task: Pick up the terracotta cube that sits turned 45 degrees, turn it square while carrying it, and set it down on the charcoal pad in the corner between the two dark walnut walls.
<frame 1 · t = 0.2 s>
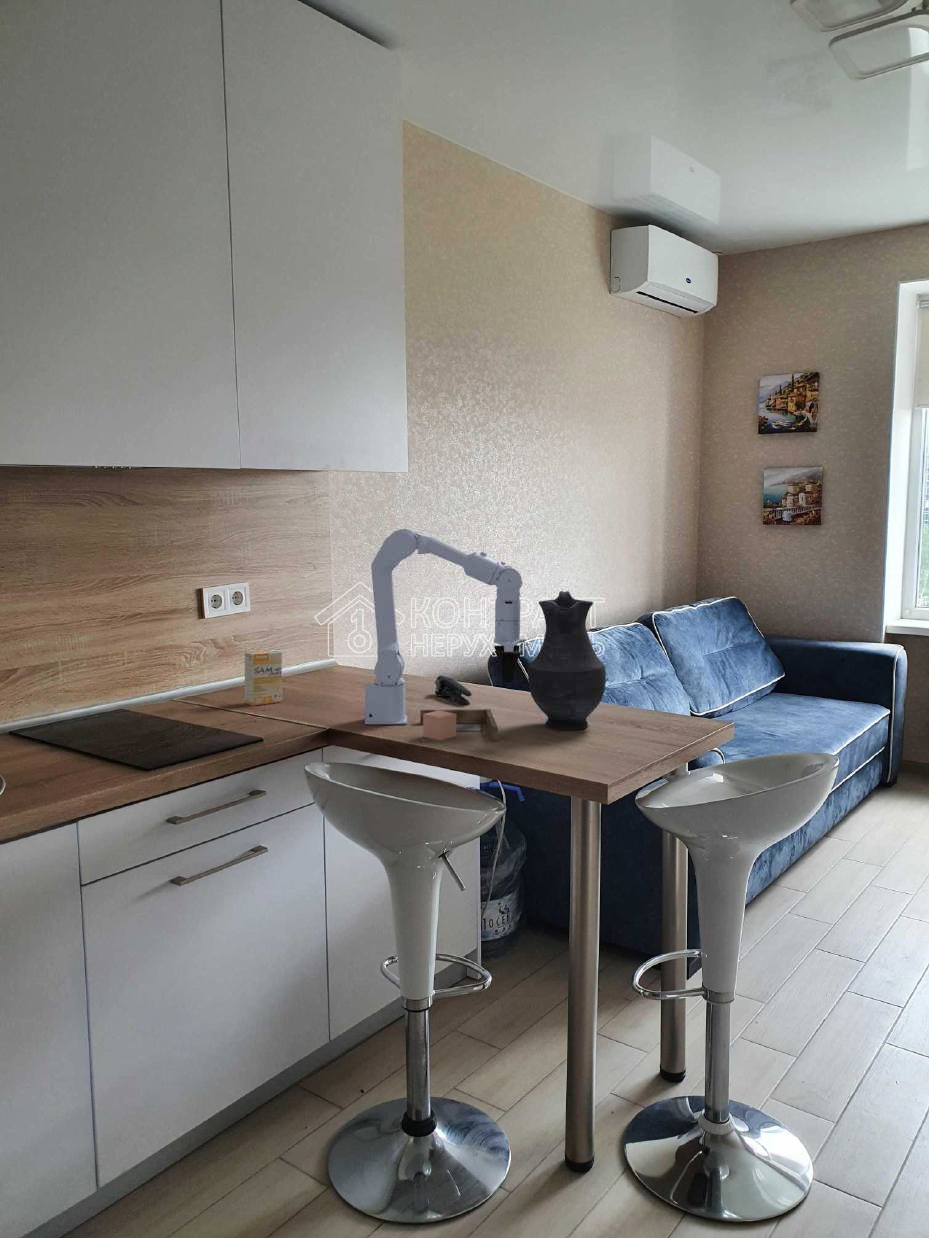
hand: (506, 678, 212), 10 cm above the worktop, tool pointing down, fingers open, 7 cm apart
supplement box: (263, 703, 233), on the worktop
arena: (457, 731, 203), on the worktop
can opener: (454, 700, 239), on the worktop
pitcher: (565, 725, 211), on the worktop
cube: (439, 736, 198), on the worktop
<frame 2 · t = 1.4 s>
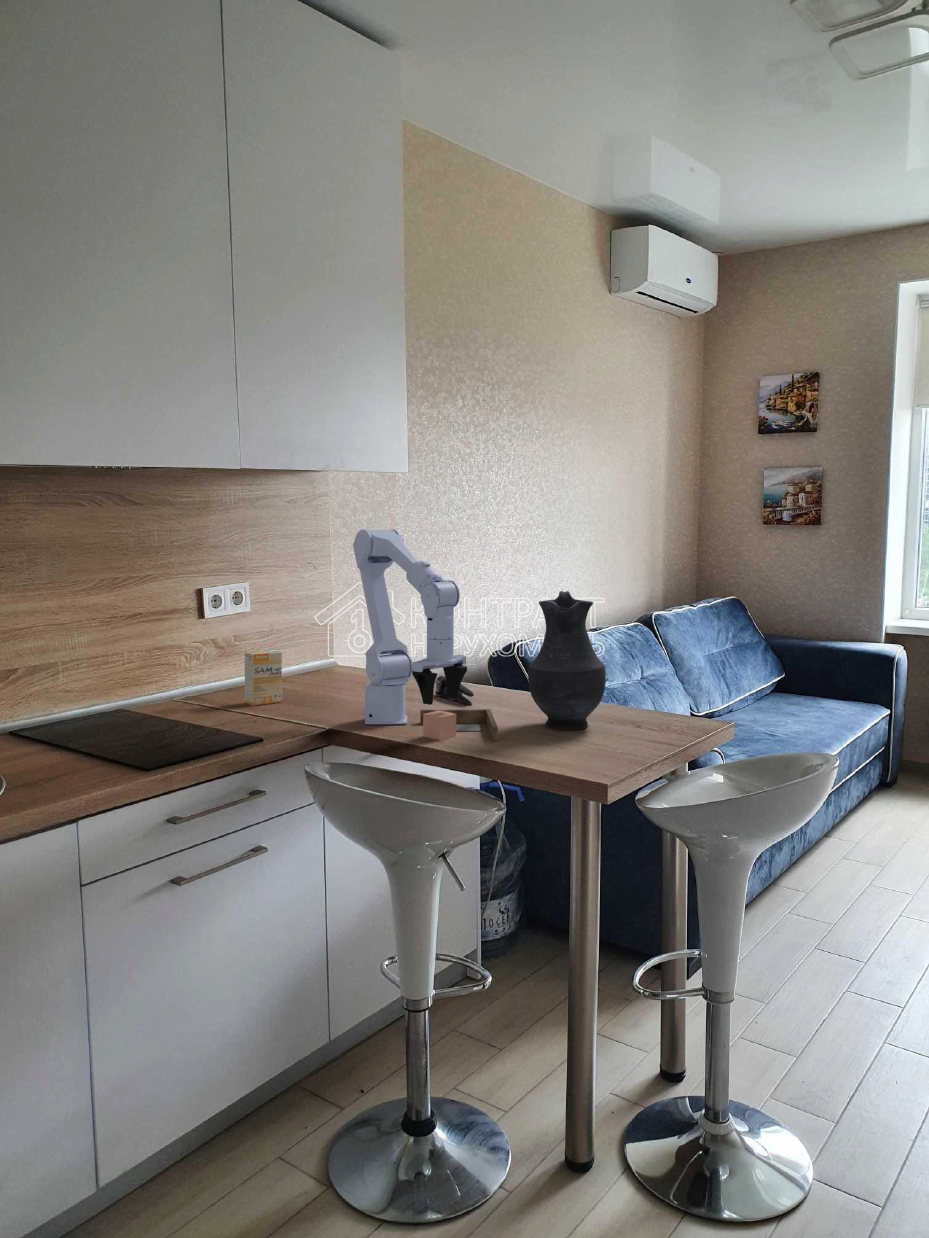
hand: (440, 701, 198), 8 cm above the worktop, tool pointing down, fingers open, 7 cm apart
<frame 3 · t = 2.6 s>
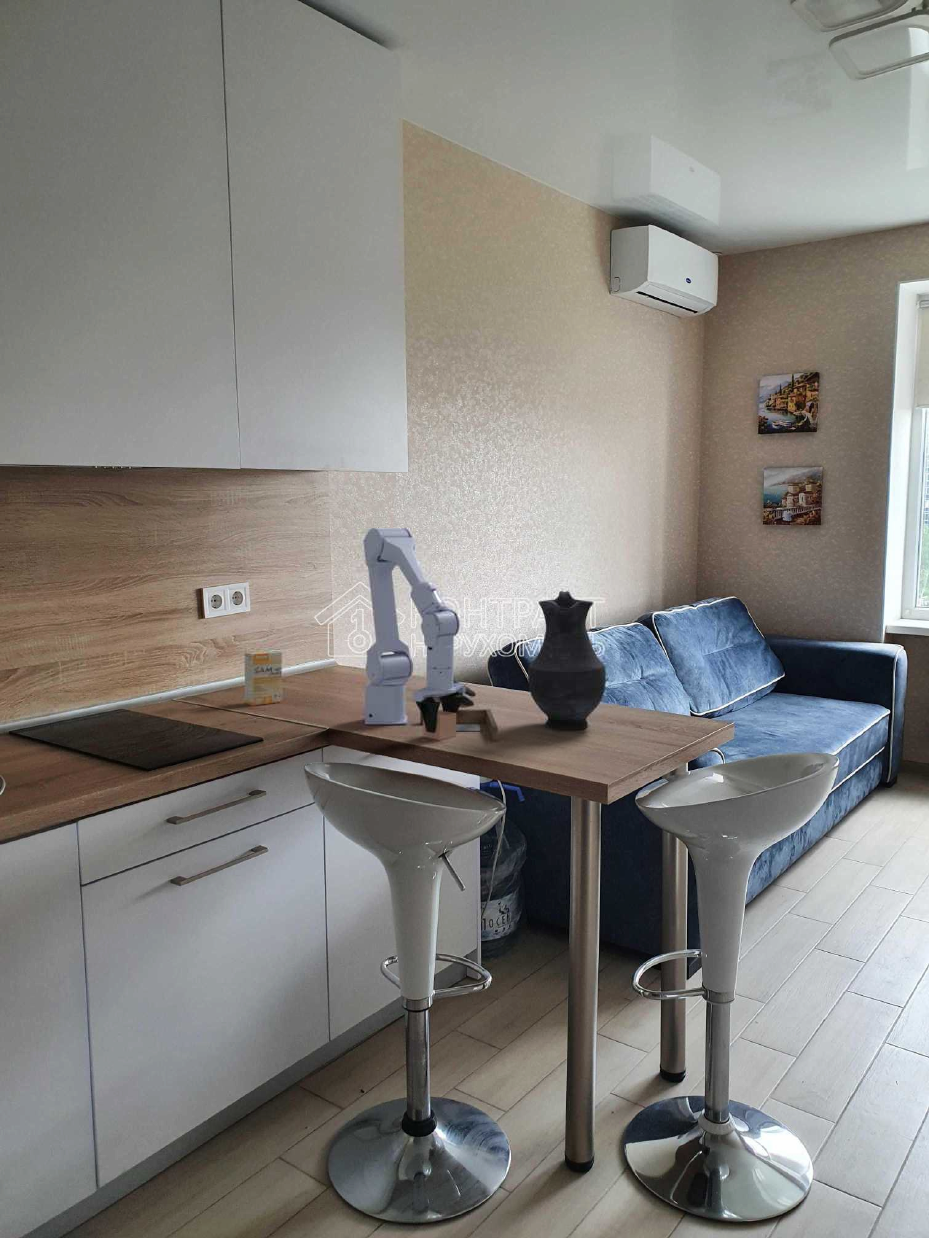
hand: (439, 729, 198), 1 cm above the worktop, tool pointing down, fingers closed on cube, 5 cm apart
cube: (439, 736, 198), on the worktop, touching gripper
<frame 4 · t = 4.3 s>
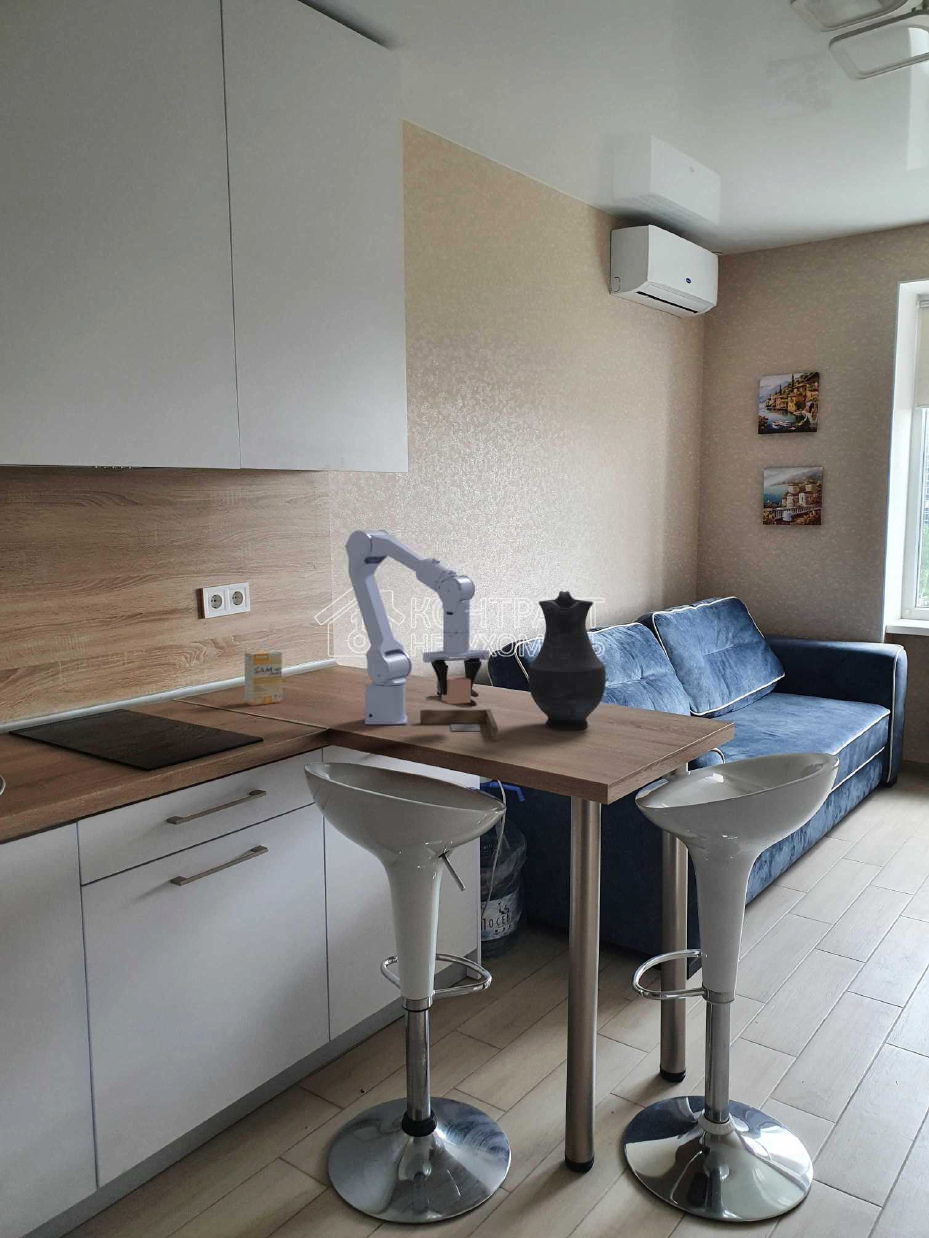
hand: (456, 693, 202), 8 cm above the worktop, tool pointing down, fingers closed on cube, 5 cm apart
cube: (456, 700, 202), point 7 cm above the worktop, touching gripper
when the fingers open (3 cm above the worktop, at t = 6.1 s): cube drops 1 cm, resting on arena.
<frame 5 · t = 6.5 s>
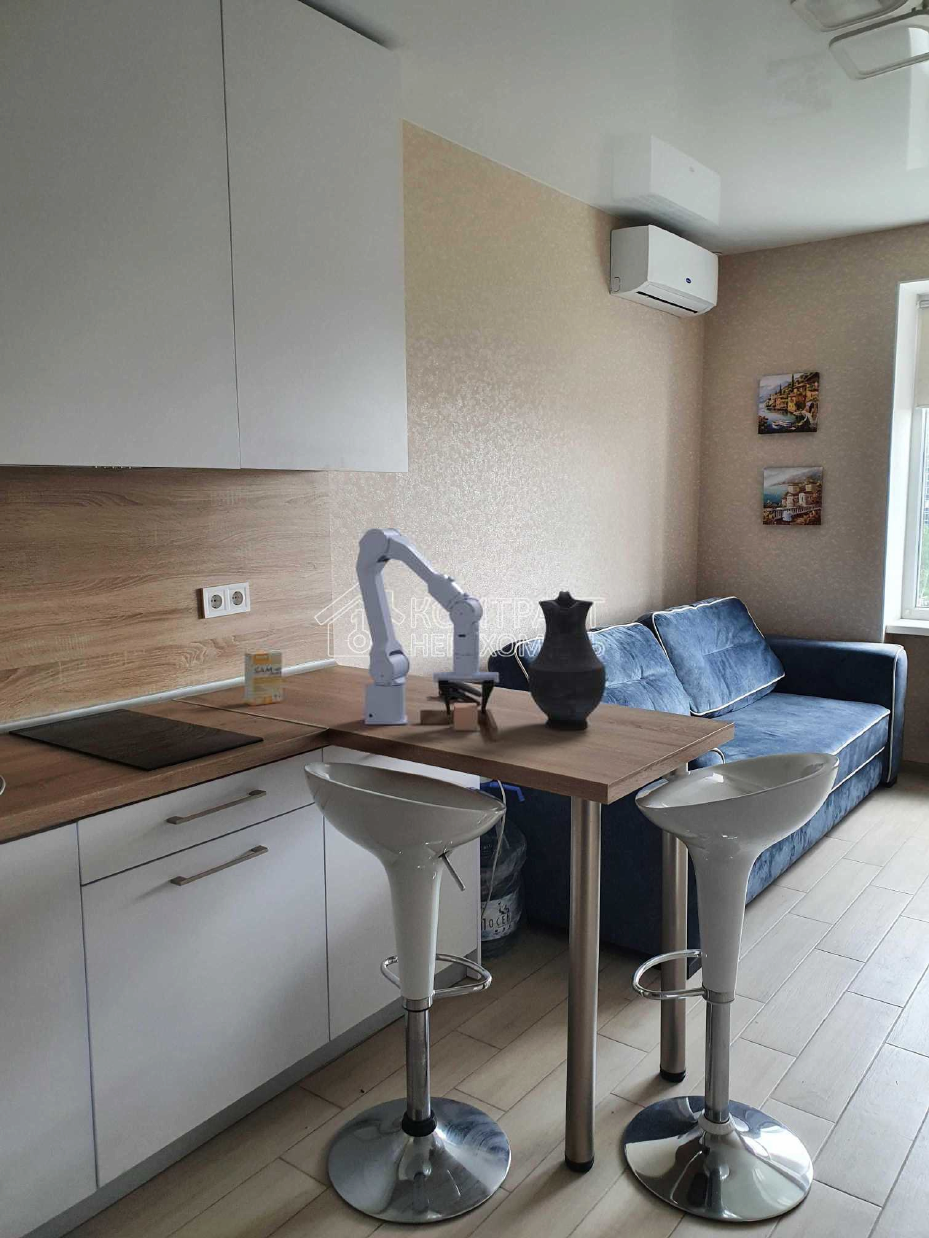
hand: (465, 713, 206), 3 cm above the worktop, tool pointing down, fingers open, 7 cm apart
cube: (465, 727, 206), resting on arena
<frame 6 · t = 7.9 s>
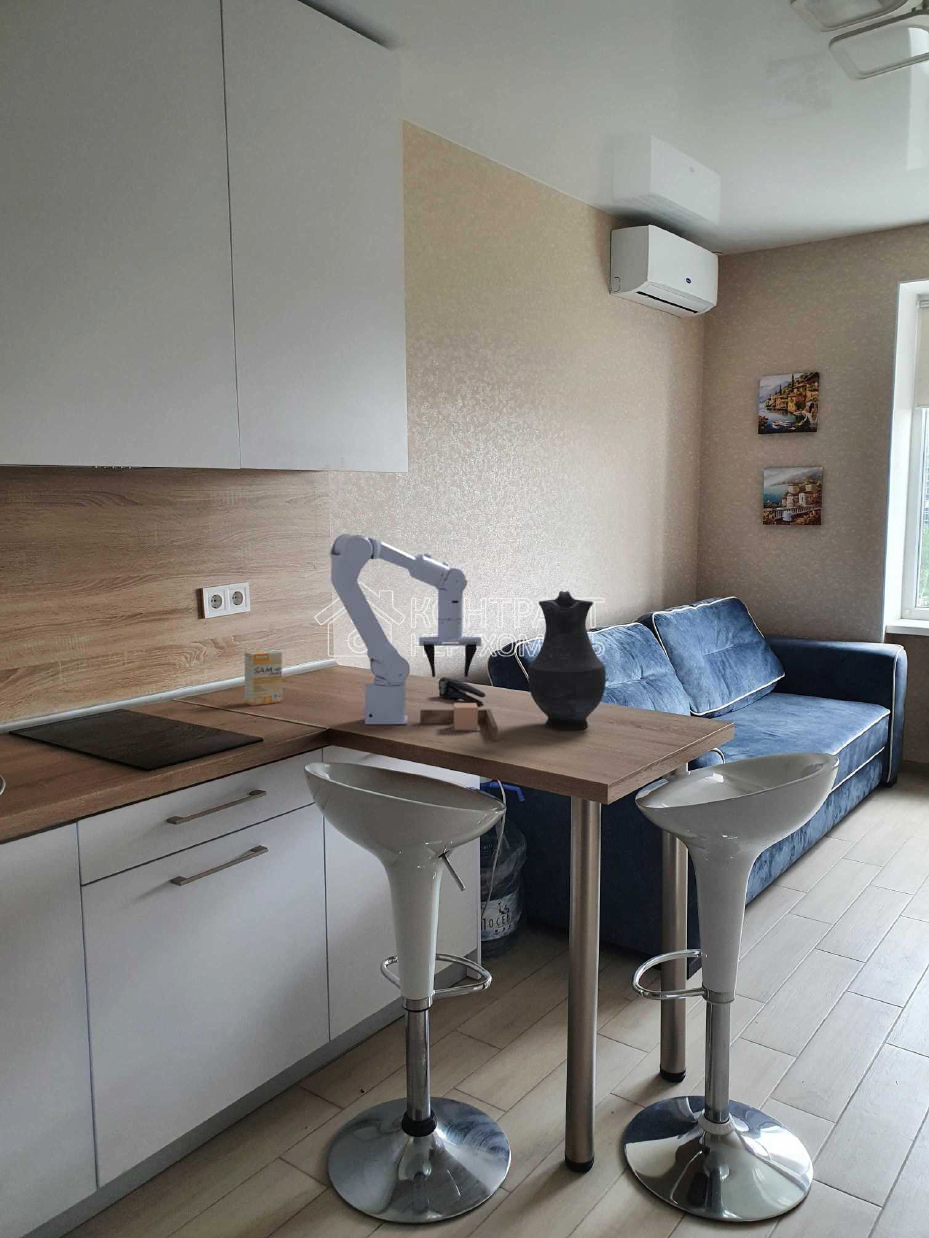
hand: (449, 676, 218), 9 cm above the worktop, tool pointing down, fingers open, 7 cm apart
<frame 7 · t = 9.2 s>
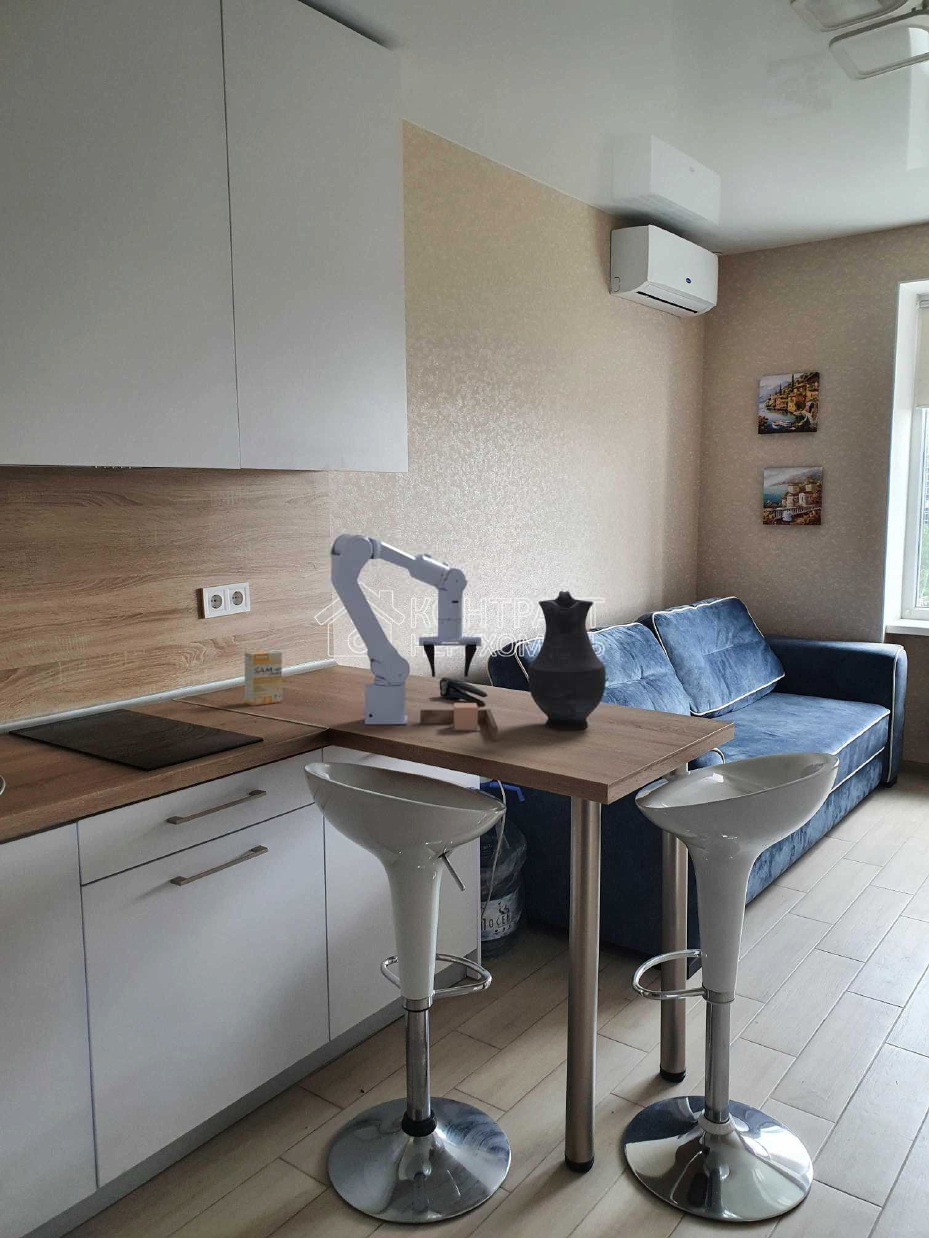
hand: (449, 676, 218), 9 cm above the worktop, tool pointing down, fingers open, 7 cm apart
at the end: cube 0.1 cm from the target spot, resting on arena; cube tilted 0°; the gripper is holding nothing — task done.
